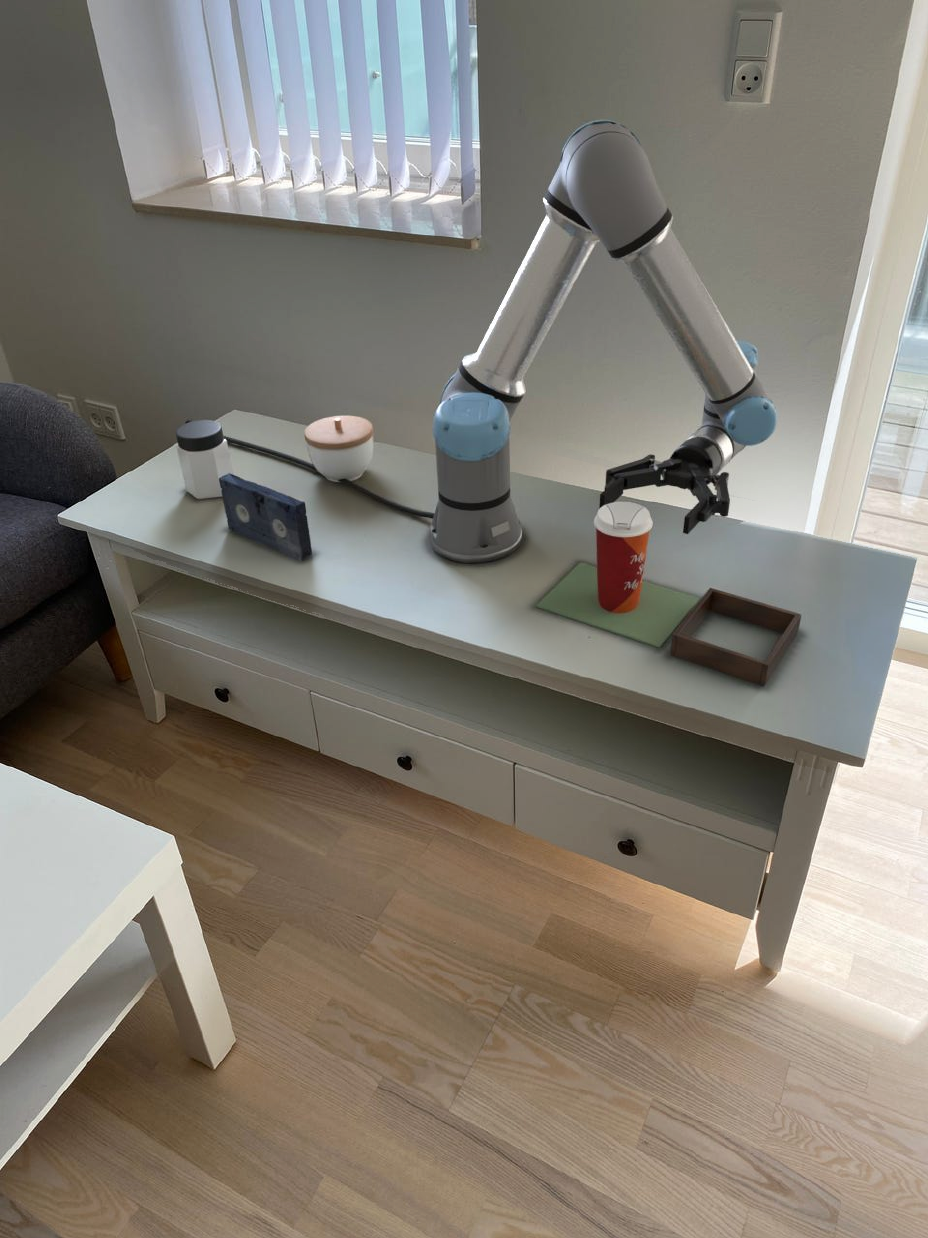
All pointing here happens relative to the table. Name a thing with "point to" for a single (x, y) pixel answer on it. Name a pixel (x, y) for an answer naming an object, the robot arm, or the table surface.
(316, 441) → the lidded bowl
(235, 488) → the vhs cassette tape
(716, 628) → the table surface
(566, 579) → the mat
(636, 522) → the coffee cup
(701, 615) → the crate
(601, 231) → the robot arm
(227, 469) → the jar
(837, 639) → the table surface
